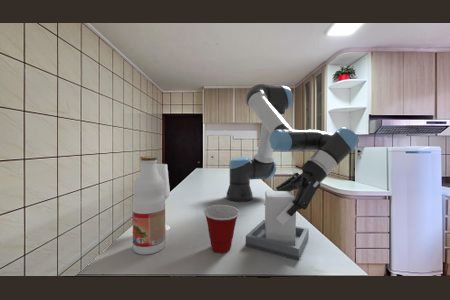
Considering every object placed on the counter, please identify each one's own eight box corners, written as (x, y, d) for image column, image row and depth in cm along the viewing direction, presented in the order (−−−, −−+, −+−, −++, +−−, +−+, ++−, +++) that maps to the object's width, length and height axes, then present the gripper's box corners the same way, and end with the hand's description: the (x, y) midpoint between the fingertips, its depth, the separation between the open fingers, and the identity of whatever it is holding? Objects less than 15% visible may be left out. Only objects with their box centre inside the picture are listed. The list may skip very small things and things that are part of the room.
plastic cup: (210, 261, 58) (210, 218, 57) (199, 244, 68) (199, 206, 67) (245, 253, 62) (246, 213, 62) (230, 238, 72) (230, 203, 72)
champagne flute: (161, 223, 85) (161, 163, 84) (173, 227, 81) (173, 164, 80) (147, 229, 79) (146, 164, 78) (160, 233, 75) (159, 166, 74)
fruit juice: (166, 252, 63) (165, 157, 62) (131, 257, 60) (130, 158, 58) (164, 238, 71) (164, 155, 70) (134, 242, 68) (133, 155, 67)
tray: (263, 228, 81) (263, 219, 80) (308, 237, 72) (308, 228, 72) (245, 245, 67) (245, 235, 67) (298, 260, 59) (298, 249, 59)
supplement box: (296, 247, 64) (297, 197, 63) (265, 245, 65) (266, 196, 65) (291, 234, 73) (291, 190, 72) (264, 232, 74) (265, 189, 74)
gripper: (350, 182, 58) (296, 239, 57) (307, 170, 82) (269, 209, 82) (332, 163, 57) (276, 219, 56) (294, 156, 82) (255, 195, 81)
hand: (272, 213), depth 69 cm, fingers open, 13 cm apart
